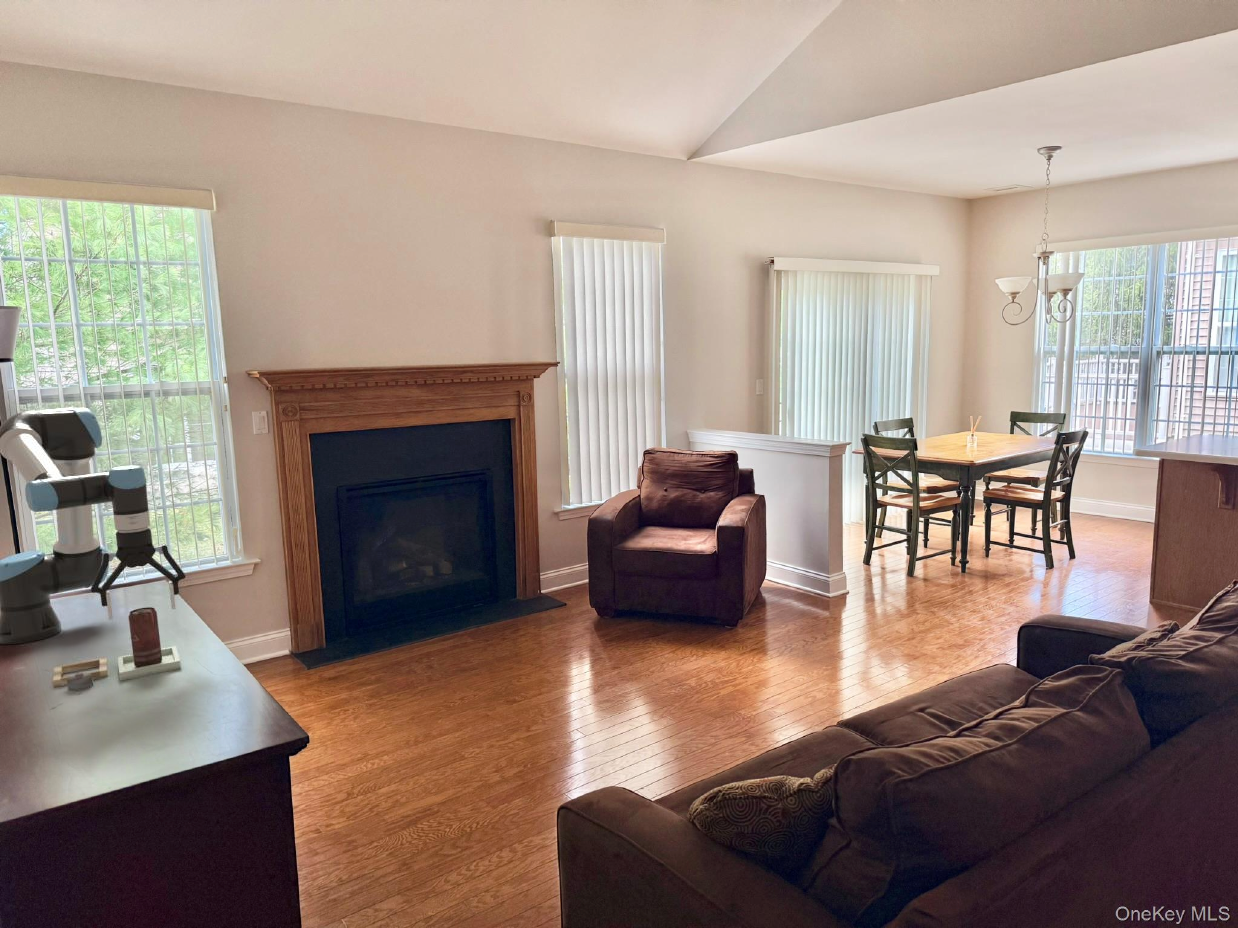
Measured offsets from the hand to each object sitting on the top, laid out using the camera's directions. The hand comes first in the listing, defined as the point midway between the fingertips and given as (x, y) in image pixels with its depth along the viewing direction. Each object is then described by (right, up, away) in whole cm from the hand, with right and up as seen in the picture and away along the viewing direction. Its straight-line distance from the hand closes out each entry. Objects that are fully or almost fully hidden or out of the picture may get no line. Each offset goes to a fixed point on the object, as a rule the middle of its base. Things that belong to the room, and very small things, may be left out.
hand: (142, 612), depth 208 cm
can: (+1, -13, +2) cm, 13 cm away
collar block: (-12, -15, -5) cm, 20 cm away
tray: (+1, -14, +2) cm, 14 cm away
